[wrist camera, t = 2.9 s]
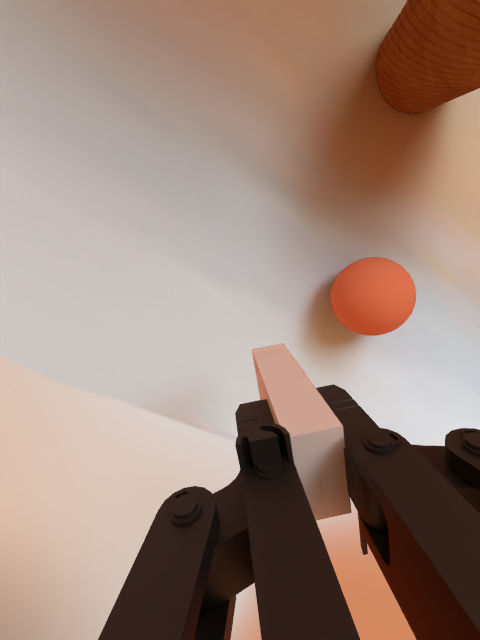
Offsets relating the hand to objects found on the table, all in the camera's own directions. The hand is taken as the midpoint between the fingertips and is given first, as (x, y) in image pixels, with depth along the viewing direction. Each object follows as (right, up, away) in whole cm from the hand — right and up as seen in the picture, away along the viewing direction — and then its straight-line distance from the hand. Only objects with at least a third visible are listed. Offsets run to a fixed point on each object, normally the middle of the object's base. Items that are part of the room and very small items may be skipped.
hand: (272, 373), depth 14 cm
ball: (+9, +4, +9) cm, 13 cm away
